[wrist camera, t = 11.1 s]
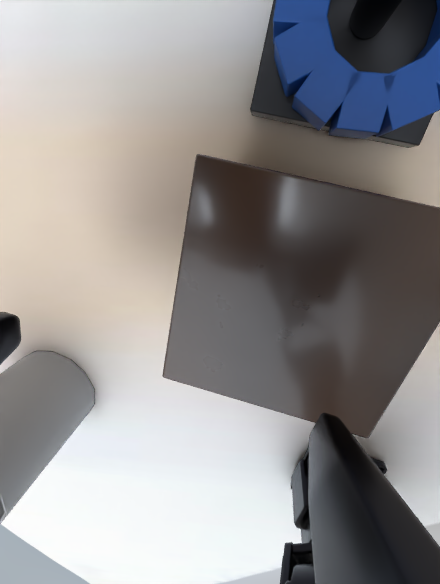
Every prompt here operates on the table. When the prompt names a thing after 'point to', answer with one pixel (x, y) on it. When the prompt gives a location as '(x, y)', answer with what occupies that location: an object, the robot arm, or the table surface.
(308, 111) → the ring
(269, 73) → the peg stand
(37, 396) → the cup
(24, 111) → the table surface
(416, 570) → the robot arm
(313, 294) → the box
